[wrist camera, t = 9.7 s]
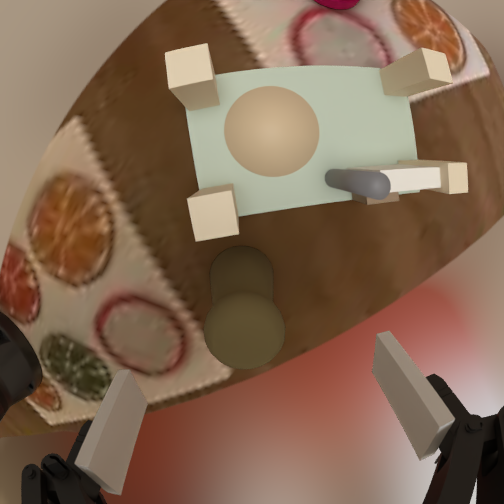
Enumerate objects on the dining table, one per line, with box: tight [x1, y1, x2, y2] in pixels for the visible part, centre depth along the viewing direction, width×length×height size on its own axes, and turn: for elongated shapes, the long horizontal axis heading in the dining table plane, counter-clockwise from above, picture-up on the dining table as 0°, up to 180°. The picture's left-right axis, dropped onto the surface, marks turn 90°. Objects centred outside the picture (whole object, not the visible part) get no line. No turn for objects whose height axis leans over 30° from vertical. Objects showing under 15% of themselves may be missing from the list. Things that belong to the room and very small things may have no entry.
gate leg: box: [346, 160, 468, 194], centre depth 19 cm, size 8×2×7 cm, turn 99°
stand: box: [165, 43, 453, 241], centre depth 18 cm, size 20×12×10 cm, turn 99°
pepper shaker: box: [204, 246, 285, 369], centre depth 21 cm, size 6×6×11 cm
